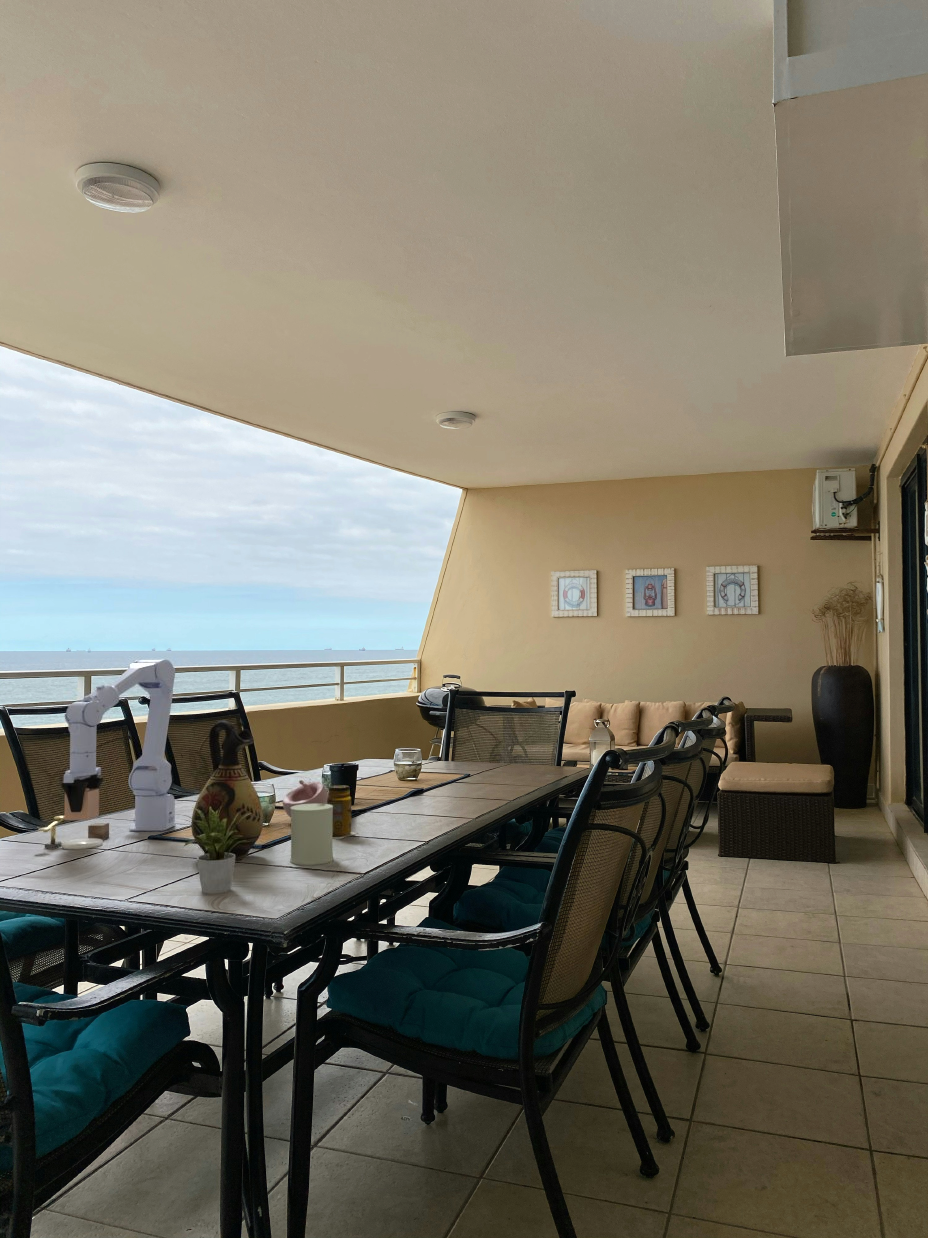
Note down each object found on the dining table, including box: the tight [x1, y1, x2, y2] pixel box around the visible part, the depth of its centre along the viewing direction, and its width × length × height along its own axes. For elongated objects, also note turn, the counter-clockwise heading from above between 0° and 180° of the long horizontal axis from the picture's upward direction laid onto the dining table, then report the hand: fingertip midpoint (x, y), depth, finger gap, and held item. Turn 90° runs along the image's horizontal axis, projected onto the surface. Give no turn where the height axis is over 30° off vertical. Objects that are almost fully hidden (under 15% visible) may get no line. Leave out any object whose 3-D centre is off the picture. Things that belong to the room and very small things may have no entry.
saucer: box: [60, 837, 104, 850], centre depth 208 cm, size 9×9×1 cm
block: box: [87, 822, 110, 841], centre depth 216 cm, size 4×4×4 cm
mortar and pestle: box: [282, 779, 329, 819], centre depth 236 cm, size 12×12×11 cm
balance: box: [38, 815, 65, 849], centre depth 206 cm, size 10×3×6 cm, turn 177°
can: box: [289, 803, 334, 866], centre depth 190 cm, size 9×9×12 cm
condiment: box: [327, 784, 358, 840], centre depth 218 cm, size 7×8×12 cm
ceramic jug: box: [190, 719, 264, 862], centre depth 194 cm, size 17×15×30 cm
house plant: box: [174, 806, 251, 895], centre depth 166 cm, size 14×14×16 cm
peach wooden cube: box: [63, 788, 100, 821], centre depth 208 cm, size 6×6×7 cm
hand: (82, 809), depth 208 cm, fingers closed on peach wooden cube, 6 cm apart
